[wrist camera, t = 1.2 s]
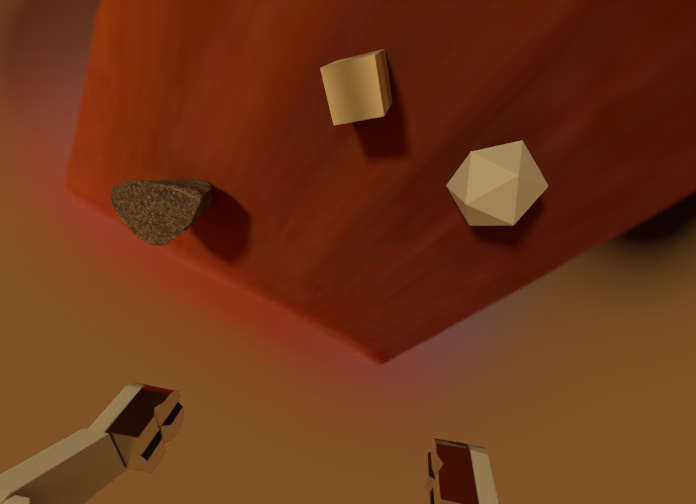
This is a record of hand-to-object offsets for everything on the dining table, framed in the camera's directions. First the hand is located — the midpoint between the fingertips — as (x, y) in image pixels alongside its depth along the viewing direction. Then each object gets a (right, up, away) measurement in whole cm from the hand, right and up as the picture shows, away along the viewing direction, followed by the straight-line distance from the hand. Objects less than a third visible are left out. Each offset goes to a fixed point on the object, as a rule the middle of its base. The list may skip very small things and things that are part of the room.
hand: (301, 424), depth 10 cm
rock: (-21, +15, +38) cm, 46 cm away
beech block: (+3, +23, +24) cm, 34 cm away
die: (+17, +15, +27) cm, 35 cm away
